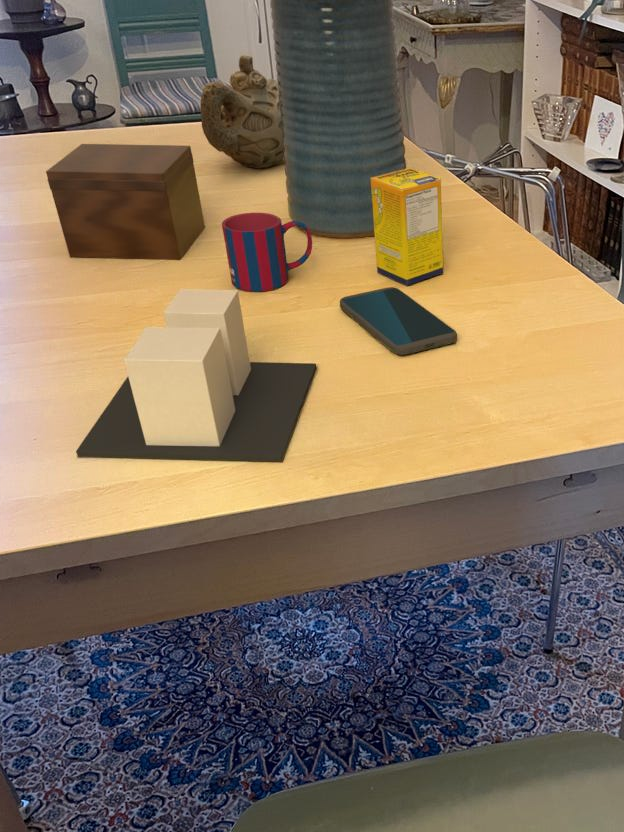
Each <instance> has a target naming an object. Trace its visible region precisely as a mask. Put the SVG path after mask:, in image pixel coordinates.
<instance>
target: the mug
mask: <svg viewBox="0 0 624 832" xmlns="http://www.w3.org/2000/svg"><path fill="white" fill-rule="evenodd" d="M298 226H300V227H302V228H303V229H304V230H305V231H304V232H305V234H306V238H307V245H306V246H307V247H306V249H305V251H304V253H303V255H302V256H300V257H299V258H298V259H296V260H294V261H292V262H288V261H287V254H286V253H287V252H286V247H285V233H287V231H288V230H289V229H291V228H293V227H298ZM221 228H222V234H223V241H224V246H225V252H226V258H227V264H228V269H229V274H230V281H231V285H232V286H233V287H234V288H236V289H237V290H240V291H244V292H250V293H251V292H252V293H253V292H254V293H256V292H257V293H258V292H259V293H261V292H268V291H274V290H276V289H280V288H282V287H284V286H285V285H287V283H288V282H289V279H290V278H289V271H292V270H295V269H296V268H298V267H300V266H301V265H303V264H304V263H305V262H307V260H308V259H309V258H310V255H311V254H312V250H313V238H312V234H311V233H310V231H309V229H308V227H307V226H306V225H305V224H304V223H302V222H300V221H292V220H291V221H288V222H286V223H283V224H282V219H281V218H280V217H279V216H278V215H275V214H273V213H268V212H244V213H238V214H234V215H231V216H229V217H226V218H225V219H224V220H222V222H221Z"/></svg>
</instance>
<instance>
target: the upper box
mask: <svg viewBox="0 0 624 832" xmlns="http://www.w3.org/2000/svg"><path fill="white" fill-rule="evenodd" d="M123 362H124V366H125V370H126V374H127V377H129V381H130V385H131V389H132V393H133V396H134V400H135V404H136V408H137V412H138V415H139V419H140V423H141V427H142V431H143V434H144V438H145V442H146V445H158V446H220V445H221V442H222V440H223V438H224V435H225V433H226V431H227V429H228V426H229V424H230V422H231V420H232V417H233V415H234V413H235V406H234V400H233V395H232V389H231V384H230V379H229V373H228V368H227V362H226V357H225V352H224V346H223V341H222V335H221V330H220V328H190V327H166V326H146V327H145V328H144V329H143V331H142V332H141V334H140V335H139V337H138V338H137V340H136V341H135V343H134V344H133V345H132V347H131V349H130V350H129V351H128V353H127V354H126V356H125V358H124V359H123Z"/></svg>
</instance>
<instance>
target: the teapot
mask: <svg viewBox="0 0 624 832" xmlns="http://www.w3.org/2000/svg"><path fill="white" fill-rule="evenodd" d="M253 61H254V60H253V56H250V55H244V54H243V55H240V56H239V59H238V68H239V70H236V71H234V72H233V73H232V74H230V78H229V84H230V86H231V87H232V88H231V87H230V86H228V85H226V84H224V83H222V82H219V81H217V80H215V81H210V82H207V83H206V84H205V85H204V88H203V90H202V92H201V97H200V120H201V129H202V132H203V134H204V136H205V138H206V140H207V142H208V144H209V145H210V146H211V147H212V148H214V149H215V150H216V151H218V152H219V153H223V154H225V155H226V156H228V157H230V158H231V159H232V160H233V161H234V162H235V163H238V164H240V165H241V166H245V167H250V168H256V169H262V168H270V167H273V166H276V165H278V164H280V163H281V162H283V159H284V155H283V147H284V145H283V143H282V133H283V131H282V127H281V124H282V121H281V116H280V115H281V111H280V101H279V91H278V81H277V80H276V79H274V78H269V79H268V78H267V77H265V76H264V75H263V74H262V73H261V72H259V70H257V69H254V65H253V64H254V62H253Z"/></svg>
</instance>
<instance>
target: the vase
mask: <svg viewBox="0 0 624 832" xmlns="http://www.w3.org/2000/svg"><path fill="white" fill-rule="evenodd" d="M269 5H270V9H271V11H270V16H271V19H272V23H271V27H272V30H273V34H272V37H273V41H274V43H273V48H274V51H275V53H274V60H275V63H276V64H275V71H276V73H277V74H276V81H277V82H278V91H279V101H280V111H281V115H280V116H281V121H282V124H281V127H282V131H283V133H282V143H283V145H284V147H283V155H284V157H283V159H284V163H283V164H284V175H285V177H286V179H285V188H286V194H287V210H288V216H289V218H290V220H291V221H300V222H302V223H304V224H305V225H306V226H307V227H308V229H309V231H310V233H311V235H314V236H319V237H325V238H331V239H333V238H334V239H357V238H358V239H359V238H368V237H375V233H374V219H373V204H372V192H371V178H372V177H376V176H380V175H384V174H388V173H392V172H395V171H399V170H403V169H407V161H406V157H405V154H406V146H405V143H404V142H405V132H404V130H403V120H402V117H403V114H402V110H401V109H402V101H401V92H400V81H399V78H400V74H399V71H398V69H399V63H398V62H399V61H397V60H398V52H397V41H396V35H397V34H396V30H395V27H396V21H395V20H394V17H395V11H394V8H393V7H394V0H270V1H269ZM297 227H298V228H299V229H300V230H302V231H303V232H305V230H304V229H303V228H302V227H300V226H297Z"/></svg>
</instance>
